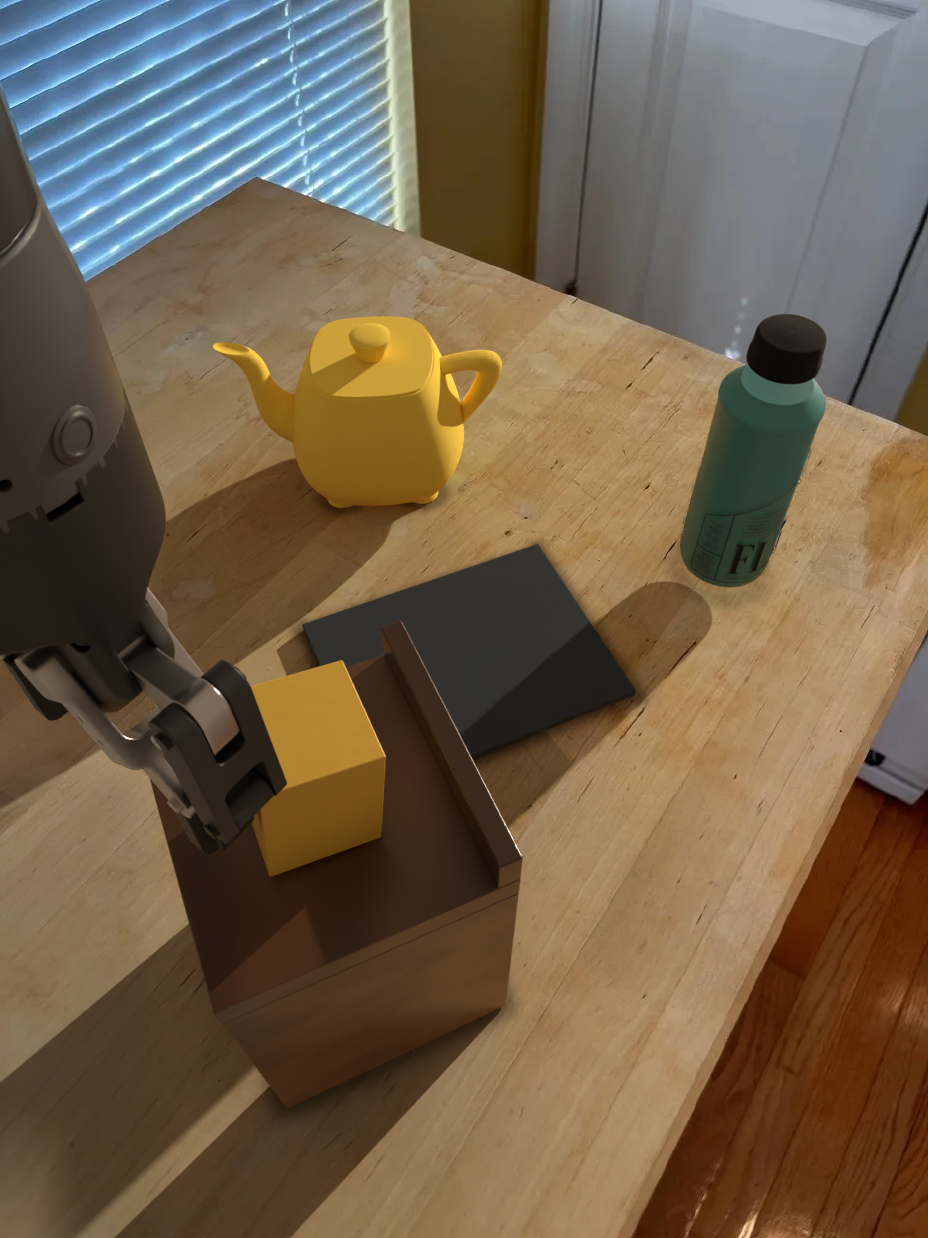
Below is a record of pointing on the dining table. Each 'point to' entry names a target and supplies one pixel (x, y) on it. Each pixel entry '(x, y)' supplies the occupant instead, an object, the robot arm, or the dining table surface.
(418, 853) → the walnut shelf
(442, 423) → the teapot
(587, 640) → the slate mat
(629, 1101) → the dining table surface
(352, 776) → the yellow block
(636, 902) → the dining table surface
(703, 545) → the beverage bottle
